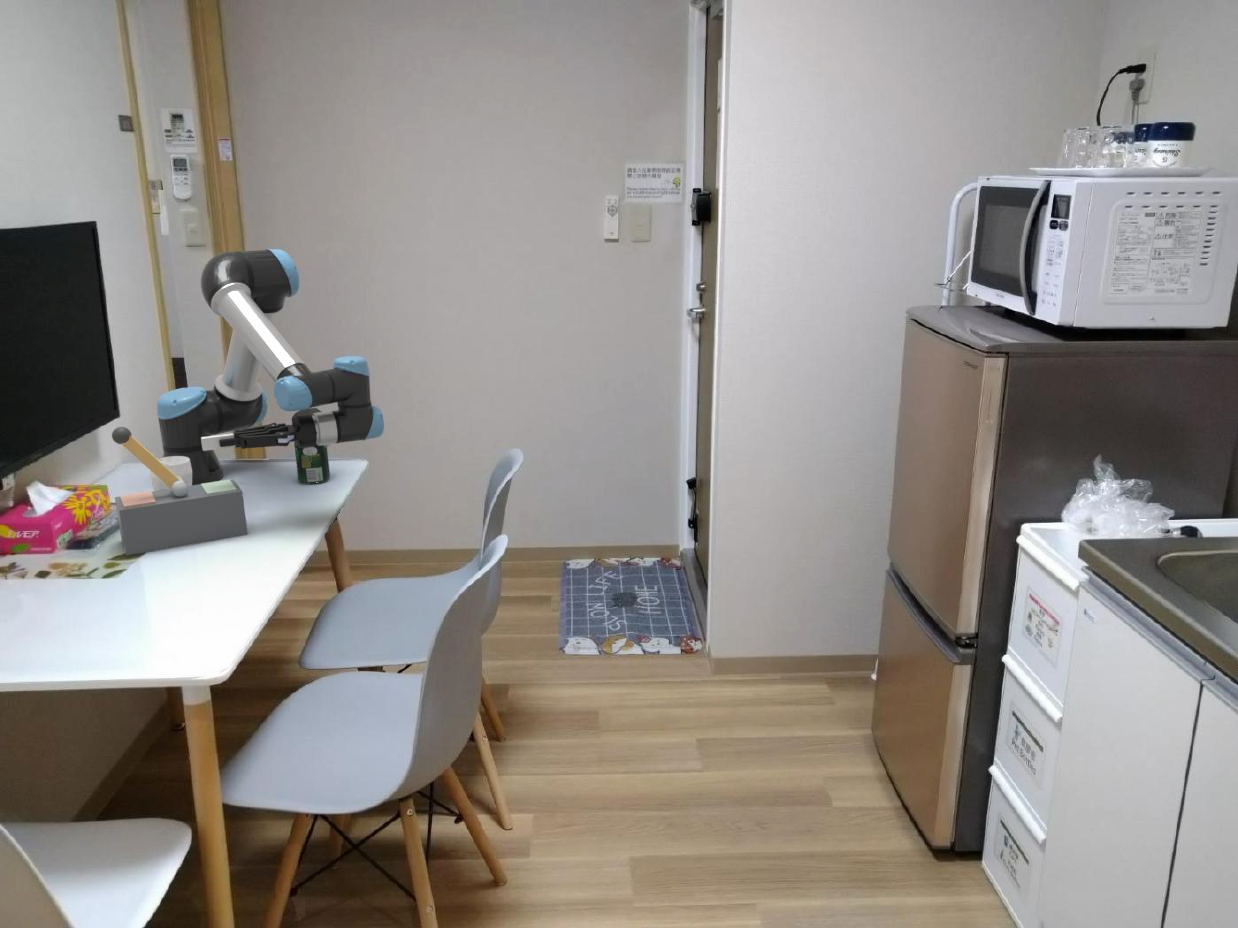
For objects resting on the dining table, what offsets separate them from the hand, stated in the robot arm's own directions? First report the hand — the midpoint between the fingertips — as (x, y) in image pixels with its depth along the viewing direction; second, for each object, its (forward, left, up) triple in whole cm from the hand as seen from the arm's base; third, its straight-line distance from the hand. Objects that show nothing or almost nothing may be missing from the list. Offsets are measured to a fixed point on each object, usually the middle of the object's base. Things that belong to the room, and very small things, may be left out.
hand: (202, 444), depth 204 cm
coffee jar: (-28, +29, -21) cm, 46 cm away
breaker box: (0, -6, -20) cm, 21 cm away
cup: (-21, -5, -21) cm, 30 cm away
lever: (0, -5, -10) cm, 11 cm away
